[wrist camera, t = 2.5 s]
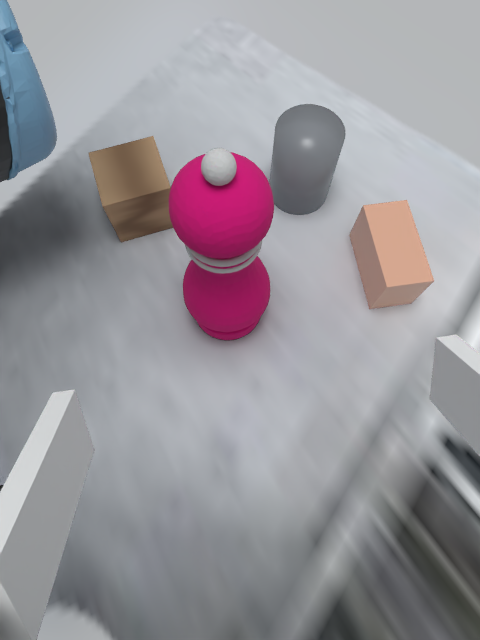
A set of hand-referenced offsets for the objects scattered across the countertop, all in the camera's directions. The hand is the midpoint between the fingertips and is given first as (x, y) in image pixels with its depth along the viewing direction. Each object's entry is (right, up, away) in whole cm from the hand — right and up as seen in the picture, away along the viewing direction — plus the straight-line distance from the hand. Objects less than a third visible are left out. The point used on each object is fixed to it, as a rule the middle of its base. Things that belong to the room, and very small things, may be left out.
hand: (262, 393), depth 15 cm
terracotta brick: (+13, +8, +25) cm, 29 cm away
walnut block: (-11, +14, +27) cm, 32 cm away
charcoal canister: (+5, +16, +28) cm, 33 cm away
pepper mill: (-2, +4, +24) cm, 24 cm away
